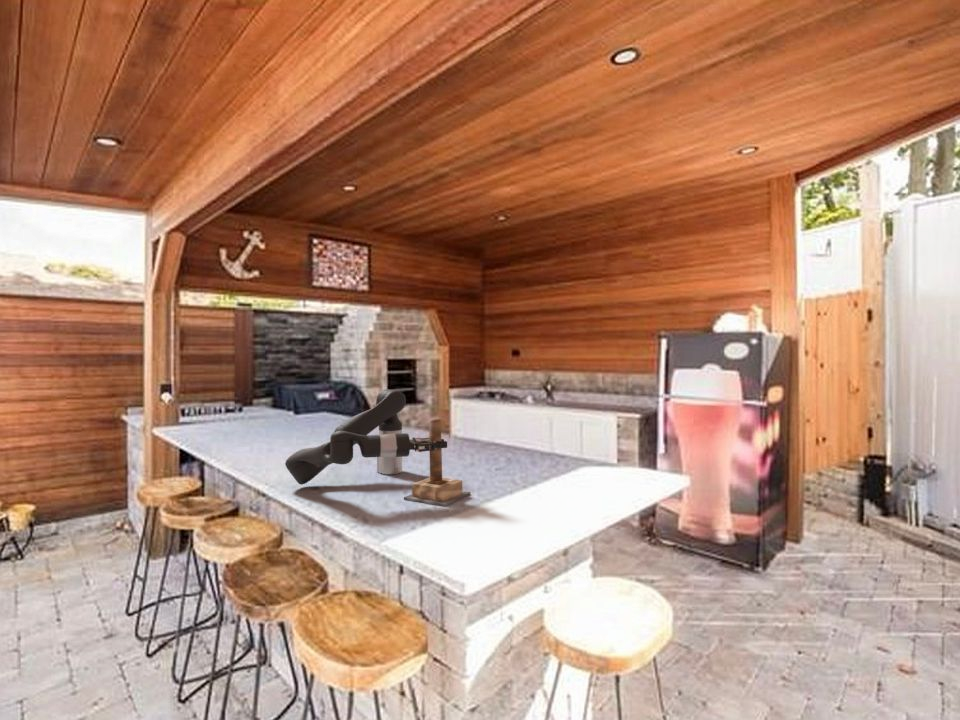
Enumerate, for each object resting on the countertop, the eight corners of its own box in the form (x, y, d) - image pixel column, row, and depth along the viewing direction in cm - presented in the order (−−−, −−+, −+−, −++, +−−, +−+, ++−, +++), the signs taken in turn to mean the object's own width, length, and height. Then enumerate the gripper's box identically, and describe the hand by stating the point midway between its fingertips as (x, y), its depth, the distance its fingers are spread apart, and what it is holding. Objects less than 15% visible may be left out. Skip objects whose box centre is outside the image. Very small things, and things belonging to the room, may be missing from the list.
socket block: (403, 499, 177) (403, 484, 177) (431, 488, 191) (431, 474, 191) (445, 506, 169) (445, 490, 169) (470, 494, 183) (470, 479, 183)
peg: (427, 480, 179) (426, 420, 178) (434, 477, 183) (433, 418, 182) (437, 481, 177) (436, 420, 176) (444, 478, 181) (443, 419, 180)
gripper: (391, 452, 182) (441, 450, 187) (396, 461, 169) (450, 458, 174) (391, 430, 182) (441, 429, 187) (396, 437, 169) (450, 435, 173)
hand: (445, 443), depth 180 cm, fingers closed on peg, 4 cm apart
